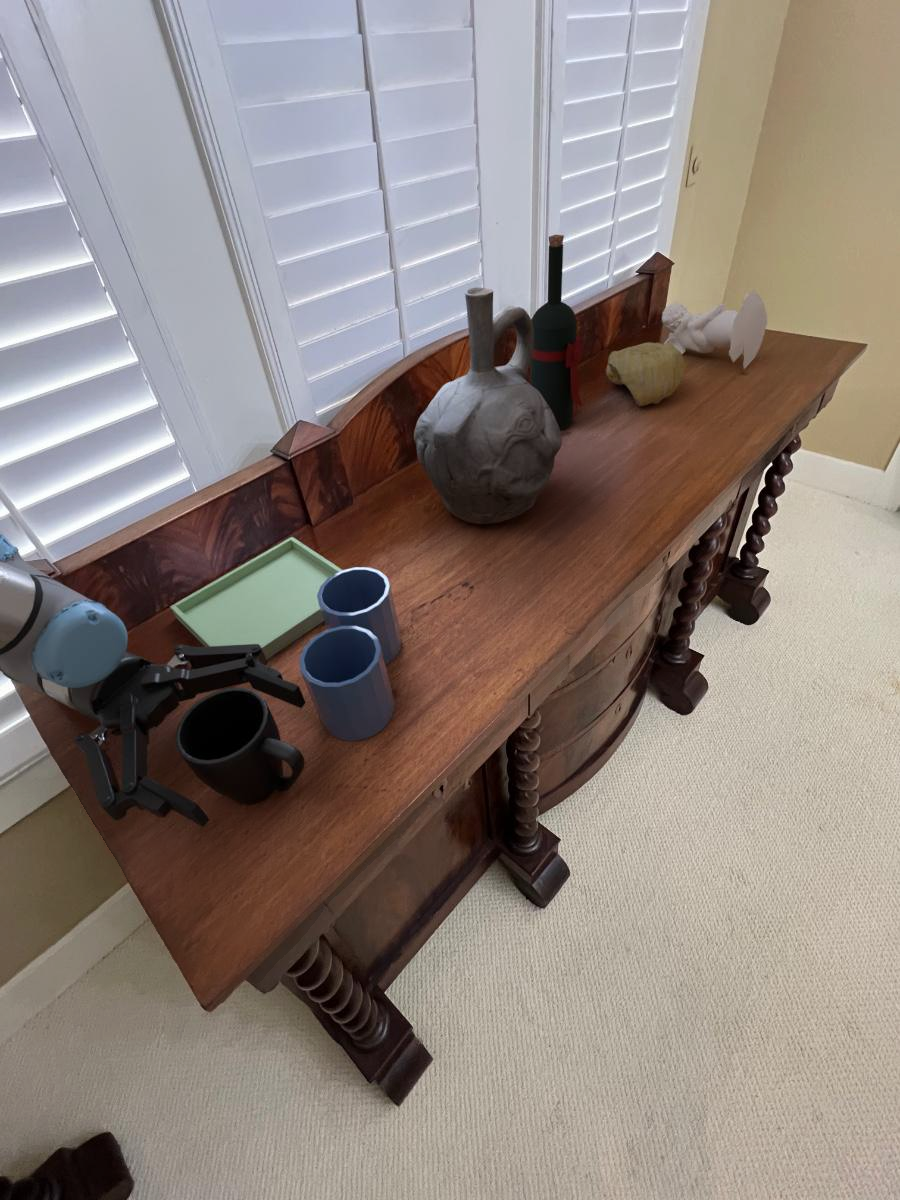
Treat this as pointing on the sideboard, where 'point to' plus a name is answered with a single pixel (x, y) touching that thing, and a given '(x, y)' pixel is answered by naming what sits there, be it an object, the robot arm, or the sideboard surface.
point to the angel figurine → (719, 328)
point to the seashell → (647, 371)
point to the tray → (260, 600)
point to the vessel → (489, 424)
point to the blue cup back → (362, 606)
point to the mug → (237, 746)
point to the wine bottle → (556, 345)
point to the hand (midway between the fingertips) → (254, 752)
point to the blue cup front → (348, 682)
